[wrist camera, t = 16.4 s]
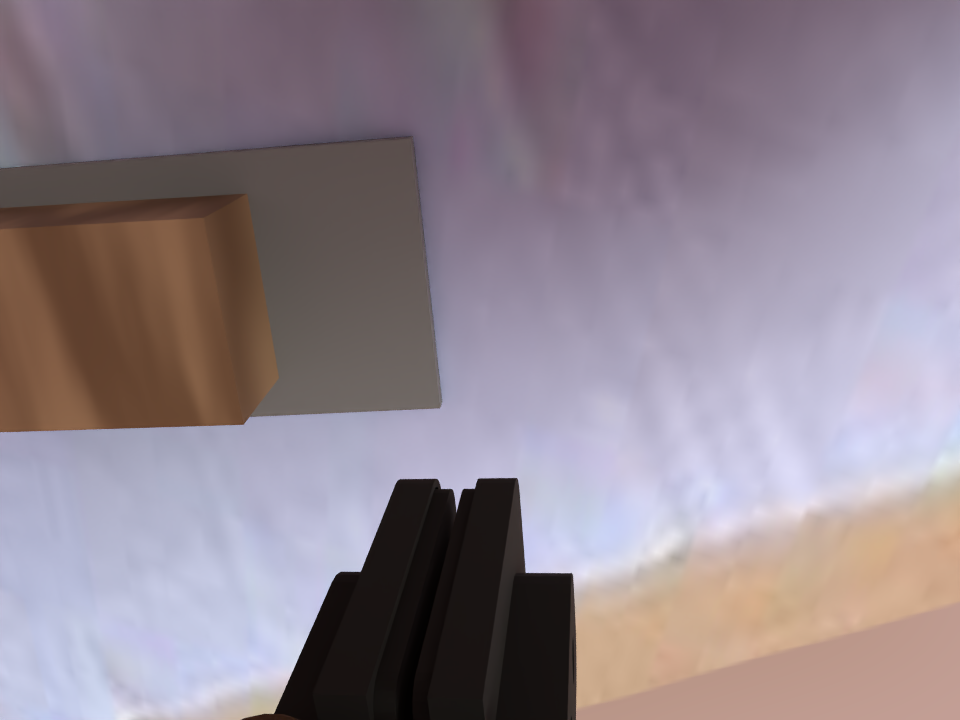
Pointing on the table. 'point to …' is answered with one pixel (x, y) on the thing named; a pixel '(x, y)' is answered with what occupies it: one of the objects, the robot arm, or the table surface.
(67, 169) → the mat
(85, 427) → the block
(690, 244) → the table surface
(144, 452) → the table surface
